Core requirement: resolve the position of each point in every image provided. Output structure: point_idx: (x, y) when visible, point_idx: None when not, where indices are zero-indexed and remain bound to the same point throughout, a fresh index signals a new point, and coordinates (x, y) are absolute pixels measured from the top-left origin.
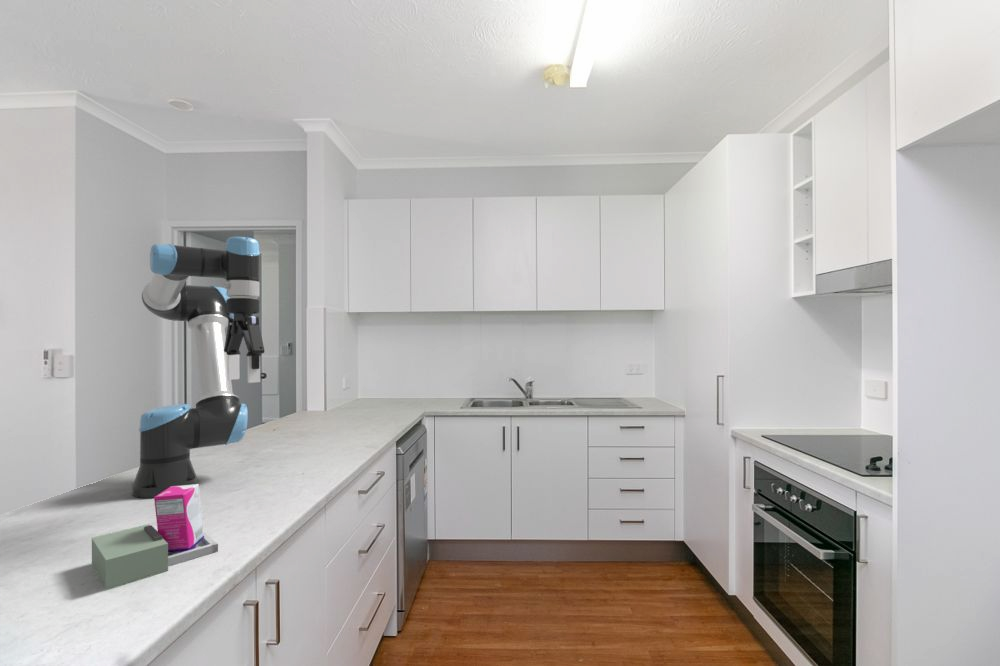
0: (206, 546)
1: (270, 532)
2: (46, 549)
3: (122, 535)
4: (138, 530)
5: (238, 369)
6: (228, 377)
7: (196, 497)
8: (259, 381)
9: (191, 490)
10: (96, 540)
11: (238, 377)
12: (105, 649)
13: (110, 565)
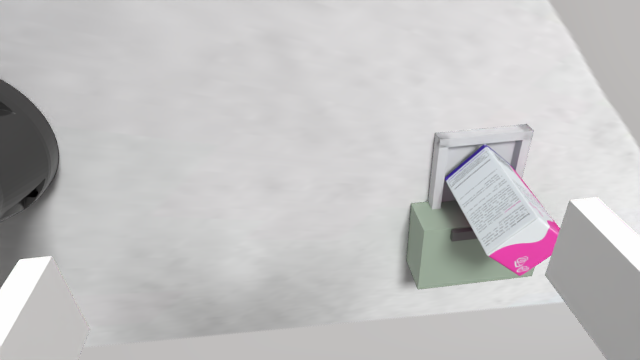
0: (526, 147)
1: (533, 18)
2: (288, 301)
3: (447, 260)
4: (444, 243)
5: (2, 357)
6: (79, 348)
7: (534, 206)
8: (600, 206)
9: (554, 229)
10: (436, 284)
11: (51, 277)
12: None
13: None
